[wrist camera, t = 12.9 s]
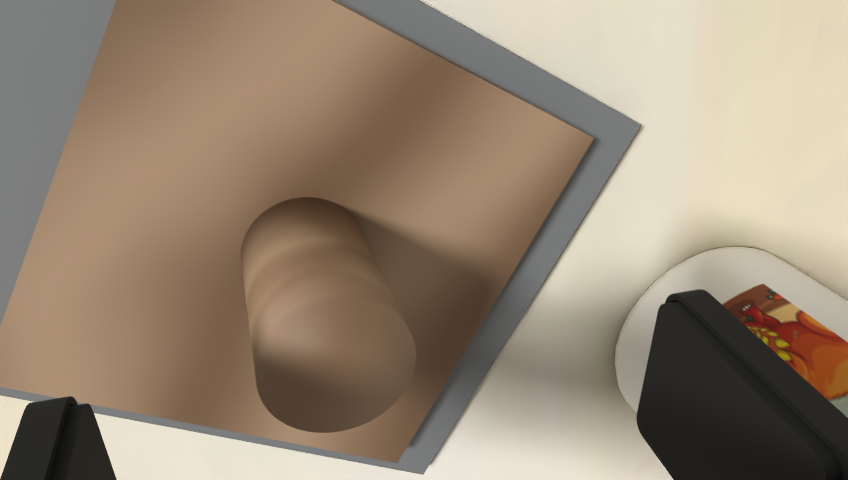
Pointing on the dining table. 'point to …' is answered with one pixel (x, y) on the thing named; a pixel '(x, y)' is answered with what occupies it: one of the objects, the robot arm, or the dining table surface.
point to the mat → (384, 3)
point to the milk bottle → (750, 317)
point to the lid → (277, 224)
